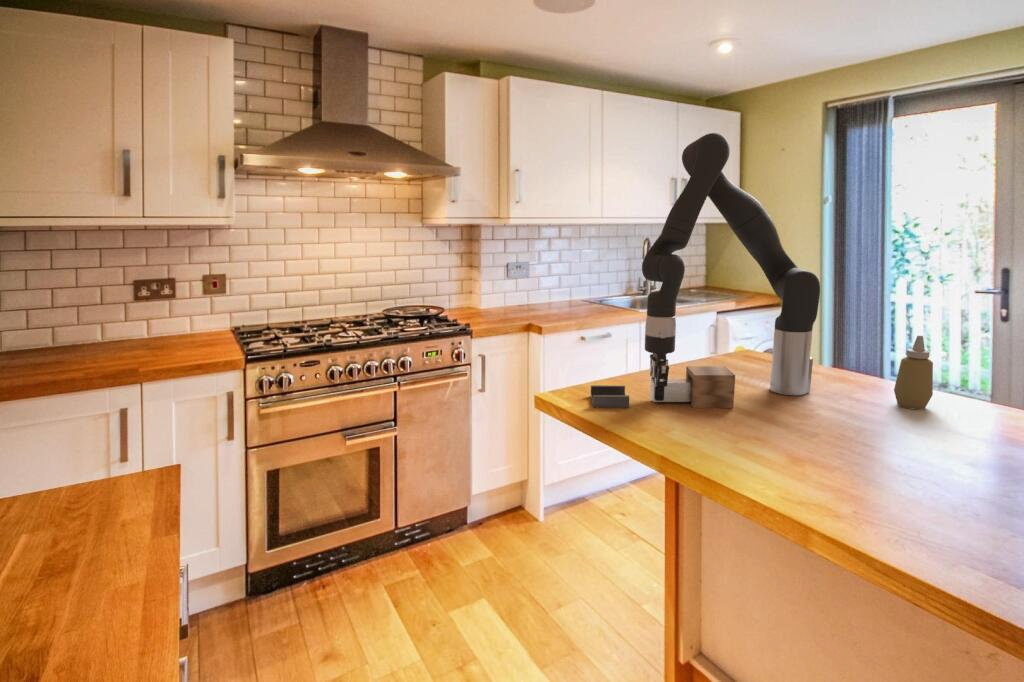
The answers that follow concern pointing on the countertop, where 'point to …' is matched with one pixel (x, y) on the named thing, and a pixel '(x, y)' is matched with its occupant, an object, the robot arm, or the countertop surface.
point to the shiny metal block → (674, 390)
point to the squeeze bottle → (915, 378)
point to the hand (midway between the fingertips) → (657, 397)
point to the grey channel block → (609, 396)
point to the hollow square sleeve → (711, 386)
